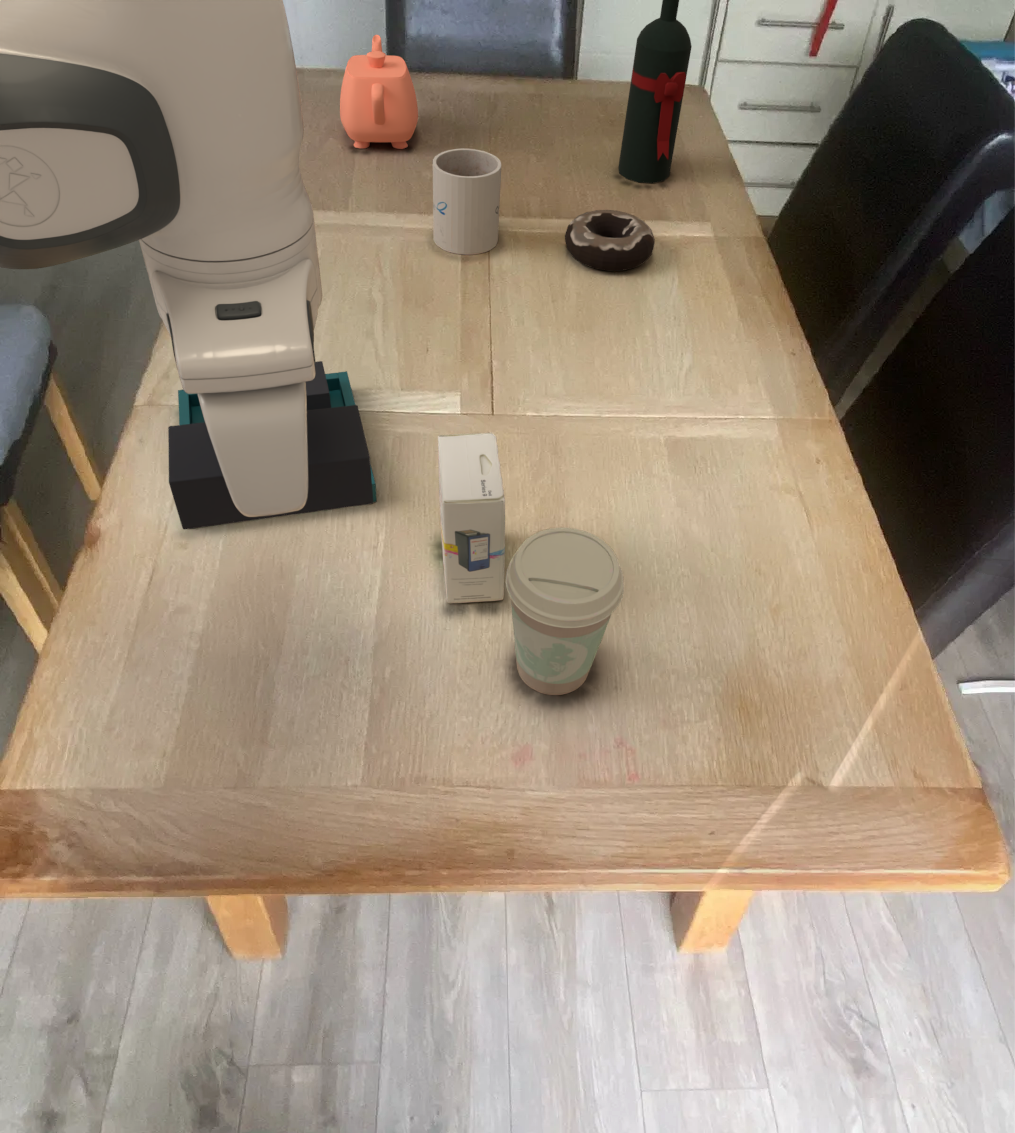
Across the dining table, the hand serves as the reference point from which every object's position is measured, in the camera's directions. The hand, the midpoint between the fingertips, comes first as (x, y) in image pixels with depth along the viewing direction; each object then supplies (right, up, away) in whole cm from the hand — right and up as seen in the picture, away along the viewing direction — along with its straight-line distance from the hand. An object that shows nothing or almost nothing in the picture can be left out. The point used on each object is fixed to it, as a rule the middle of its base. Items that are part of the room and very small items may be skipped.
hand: (272, 468), depth 58 cm
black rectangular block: (-9, +9, +33) cm, 35 cm away
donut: (+28, +35, +61) cm, 76 cm away
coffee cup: (+19, -14, +14) cm, 28 cm away
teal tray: (-8, +5, +30) cm, 32 cm away
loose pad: (0, -1, +1) cm, 2 cm away
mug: (+10, +39, +63) cm, 75 cm away
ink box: (+12, -6, +21) cm, 25 cm away
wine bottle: (+36, +53, +78) cm, 101 cm away
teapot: (-5, +61, +83) cm, 104 cm away
